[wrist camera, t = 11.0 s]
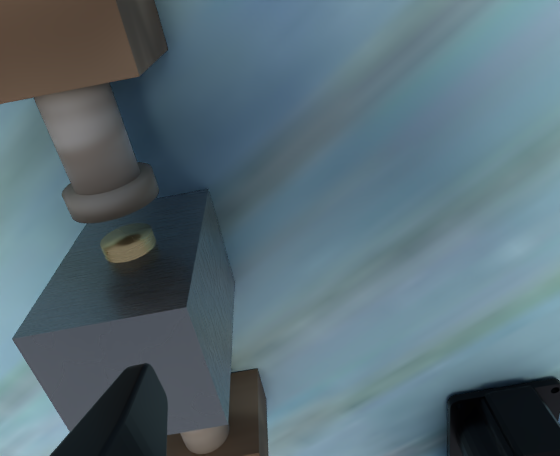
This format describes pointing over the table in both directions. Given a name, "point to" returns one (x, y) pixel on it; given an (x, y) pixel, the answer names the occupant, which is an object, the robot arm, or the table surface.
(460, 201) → the table surface
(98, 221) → the shaft stand
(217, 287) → the coupling block
